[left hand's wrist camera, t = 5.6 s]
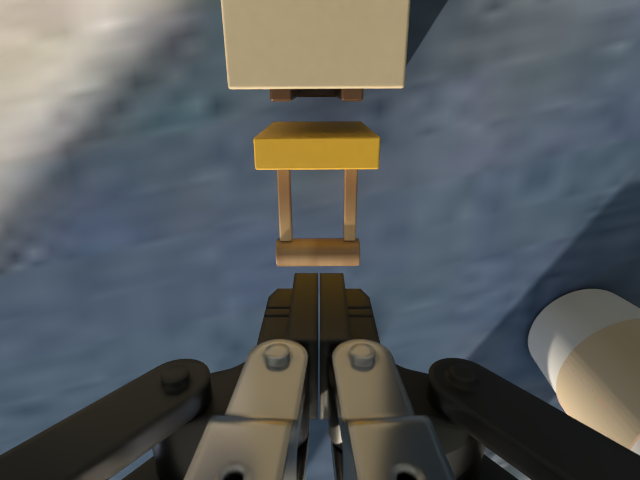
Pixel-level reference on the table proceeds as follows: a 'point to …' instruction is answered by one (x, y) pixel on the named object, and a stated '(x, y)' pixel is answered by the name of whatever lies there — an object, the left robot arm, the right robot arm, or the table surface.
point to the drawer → (317, 153)
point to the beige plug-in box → (315, 43)
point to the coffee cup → (593, 360)
